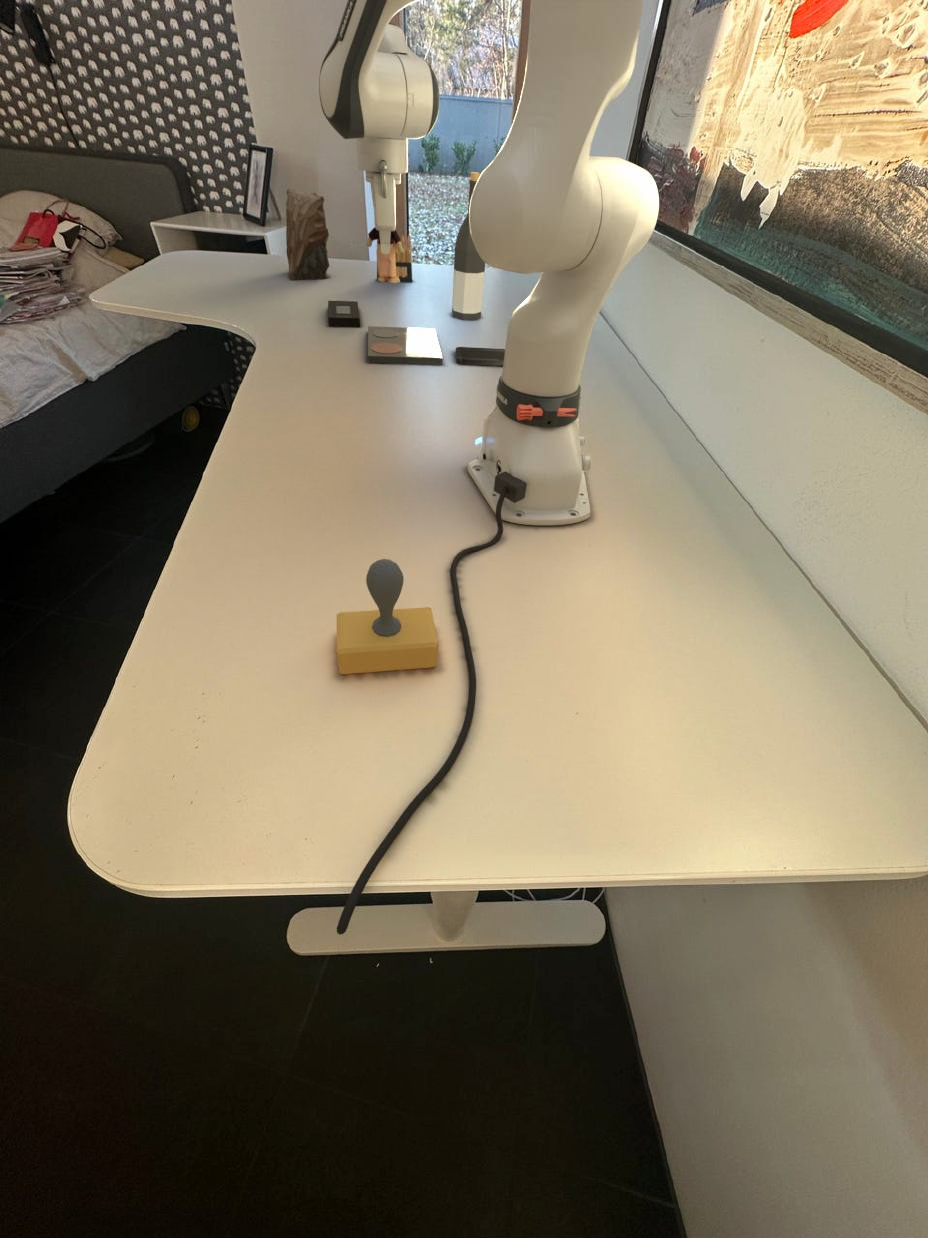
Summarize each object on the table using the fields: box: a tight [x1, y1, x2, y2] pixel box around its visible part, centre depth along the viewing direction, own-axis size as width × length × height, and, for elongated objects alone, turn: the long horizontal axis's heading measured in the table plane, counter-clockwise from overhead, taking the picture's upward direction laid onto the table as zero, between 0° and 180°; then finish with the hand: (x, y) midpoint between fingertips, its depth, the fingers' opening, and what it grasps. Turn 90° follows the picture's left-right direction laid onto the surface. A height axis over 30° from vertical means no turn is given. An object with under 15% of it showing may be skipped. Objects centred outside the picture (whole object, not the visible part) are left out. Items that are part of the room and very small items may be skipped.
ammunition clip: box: [376, 233, 413, 283], centre depth 164 cm, size 11×2×12 cm, turn 102°
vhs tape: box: [327, 300, 361, 328], centre depth 137 cm, size 8×14×2 cm, turn 10°
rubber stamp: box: [336, 558, 439, 675], centre depth 54 cm, size 10×6×12 cm, turn 99°
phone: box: [454, 346, 505, 367], centre depth 123 cm, size 8×1×15 cm
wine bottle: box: [451, 171, 486, 321], centre depth 136 cm, size 8×8×30 cm
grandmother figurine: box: [366, 226, 403, 284], centre depth 106 cm, size 8×4×13 cm, turn 81°
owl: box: [285, 188, 330, 281], centre depth 159 cm, size 13×13×20 cm
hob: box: [367, 325, 444, 366], centre depth 125 cm, size 20×16×2 cm
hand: (385, 250), depth 106 cm, fingers closed on grandmother figurine, 3 cm apart
